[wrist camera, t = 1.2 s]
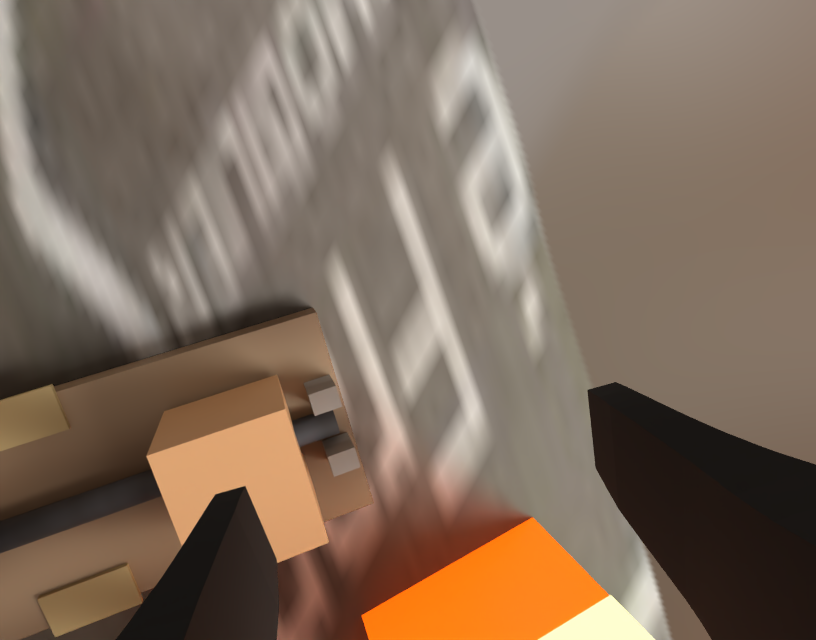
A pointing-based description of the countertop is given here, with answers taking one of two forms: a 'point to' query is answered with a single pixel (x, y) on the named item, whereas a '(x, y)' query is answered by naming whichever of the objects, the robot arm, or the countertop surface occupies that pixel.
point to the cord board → (142, 469)
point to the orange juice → (506, 598)
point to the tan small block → (238, 464)
